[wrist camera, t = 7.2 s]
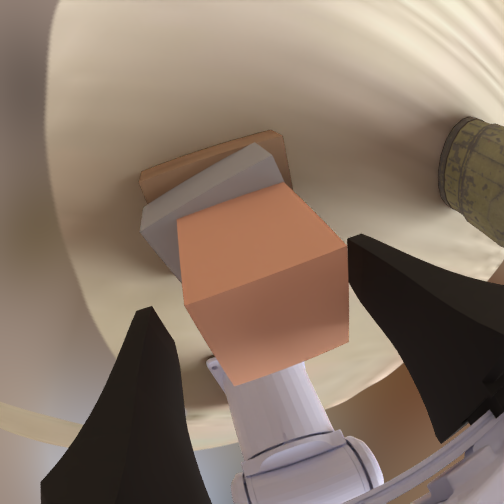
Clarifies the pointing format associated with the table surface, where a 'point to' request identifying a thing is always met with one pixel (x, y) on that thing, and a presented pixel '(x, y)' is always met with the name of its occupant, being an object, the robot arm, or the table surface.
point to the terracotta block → (264, 282)
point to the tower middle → (205, 197)
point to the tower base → (209, 163)
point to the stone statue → (475, 175)
